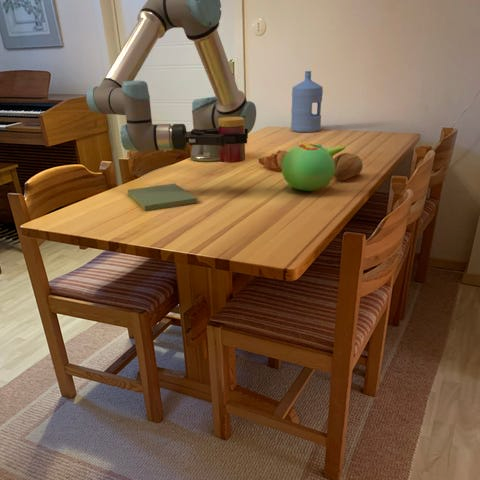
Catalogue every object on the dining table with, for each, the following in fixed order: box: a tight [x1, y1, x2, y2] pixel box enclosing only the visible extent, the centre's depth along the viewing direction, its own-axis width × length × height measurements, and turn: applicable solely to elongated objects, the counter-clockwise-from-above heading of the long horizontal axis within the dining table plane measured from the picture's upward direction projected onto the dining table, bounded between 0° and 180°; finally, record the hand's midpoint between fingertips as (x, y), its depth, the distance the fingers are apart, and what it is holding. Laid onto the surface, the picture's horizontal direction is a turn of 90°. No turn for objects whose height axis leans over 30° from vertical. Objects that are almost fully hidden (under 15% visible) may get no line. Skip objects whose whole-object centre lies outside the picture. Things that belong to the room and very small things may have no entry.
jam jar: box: [218, 125, 246, 164], centre depth 148 cm, size 8×8×11 cm
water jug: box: [290, 70, 324, 133], centre depth 250 cm, size 16×16×28 cm
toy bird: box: [281, 141, 346, 192], centre depth 153 cm, size 18×17×15 cm
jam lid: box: [218, 117, 244, 127], centre depth 145 cm, size 8×8×2 cm
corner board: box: [127, 183, 198, 212], centre depth 150 cm, size 20×16×2 cm
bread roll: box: [333, 152, 364, 181], centre depth 166 cm, size 10×15×8 cm, turn 149°
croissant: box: [257, 149, 288, 172], centre depth 180 cm, size 21×10×8 cm, turn 63°
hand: (247, 135), depth 147 cm, fingers closed on jam jar, 8 cm apart
